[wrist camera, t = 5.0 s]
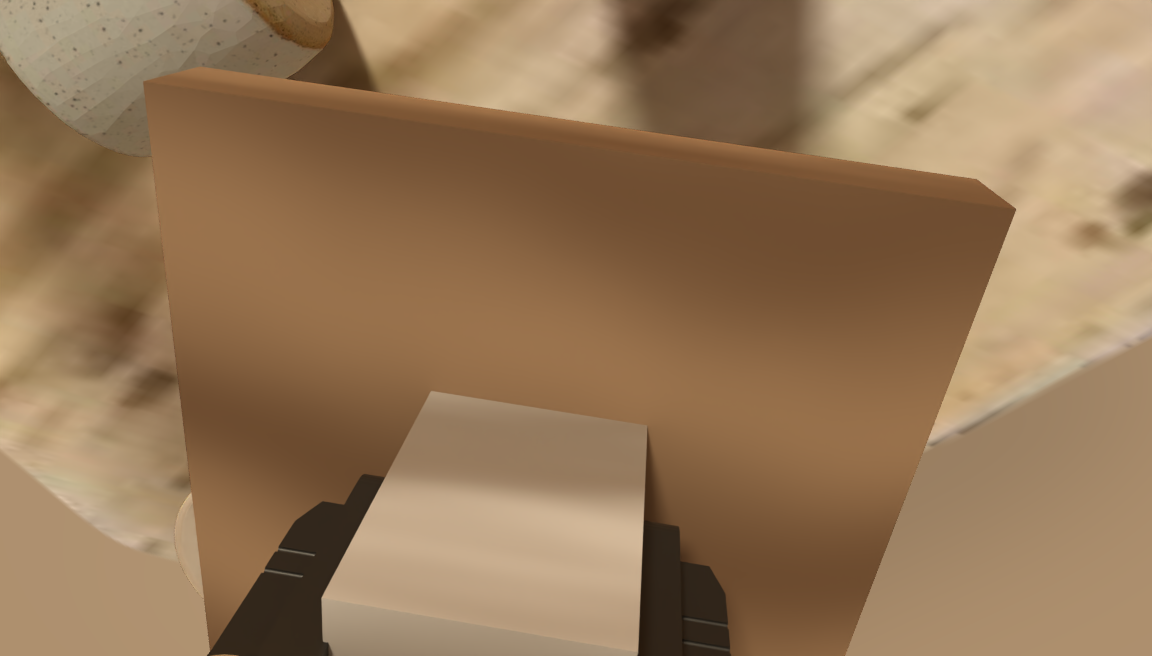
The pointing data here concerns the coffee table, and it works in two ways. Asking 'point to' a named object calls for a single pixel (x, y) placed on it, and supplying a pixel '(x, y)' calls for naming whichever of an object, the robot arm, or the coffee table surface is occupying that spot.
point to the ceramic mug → (148, 52)
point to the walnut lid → (549, 360)
